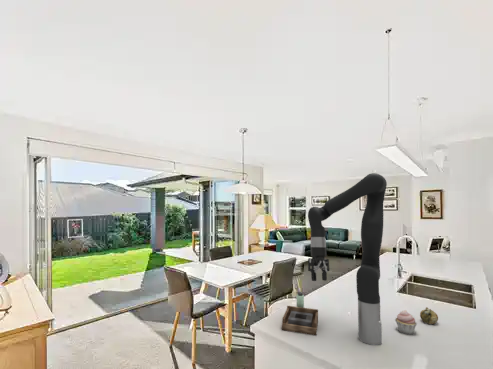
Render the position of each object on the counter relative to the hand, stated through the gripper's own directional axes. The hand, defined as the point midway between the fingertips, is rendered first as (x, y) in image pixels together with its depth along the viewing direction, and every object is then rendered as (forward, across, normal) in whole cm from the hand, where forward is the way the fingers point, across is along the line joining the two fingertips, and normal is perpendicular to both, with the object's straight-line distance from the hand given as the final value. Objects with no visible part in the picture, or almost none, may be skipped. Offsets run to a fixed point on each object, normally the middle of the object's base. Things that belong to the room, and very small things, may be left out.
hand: (319, 280), depth 132 cm
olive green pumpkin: (+20, +56, -28) cm, 65 cm away
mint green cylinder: (+20, +11, +21) cm, 31 cm away
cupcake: (+22, +35, -24) cm, 48 cm away
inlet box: (+22, 0, +12) cm, 25 cm away
